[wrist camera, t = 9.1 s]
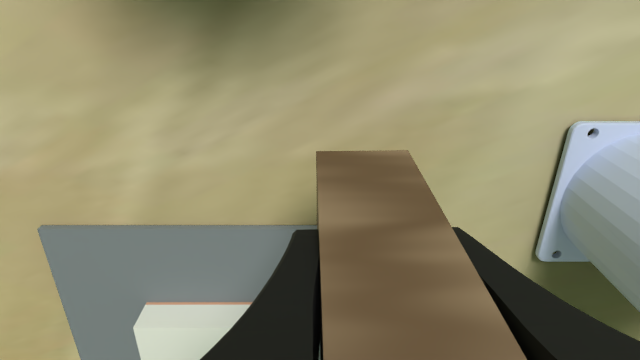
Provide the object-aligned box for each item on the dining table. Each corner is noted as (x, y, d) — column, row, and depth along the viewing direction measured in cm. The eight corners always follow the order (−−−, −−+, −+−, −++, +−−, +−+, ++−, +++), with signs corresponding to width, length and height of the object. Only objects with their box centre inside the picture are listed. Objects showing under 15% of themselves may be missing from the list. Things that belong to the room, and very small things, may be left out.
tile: (281, 327, 23) (133, 328, 23) (284, 402, 25) (151, 402, 25) (283, 302, 25) (146, 302, 24) (286, 374, 27) (162, 374, 27)
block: (407, 150, 14) (548, 397, 6) (400, 228, 15) (506, 520, 7) (316, 151, 14) (324, 401, 6) (316, 229, 15) (324, 524, 7)
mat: (448, 225, 23) (450, 229, 23) (417, 418, 30) (418, 423, 29) (41, 225, 23) (37, 229, 22) (105, 419, 30) (102, 425, 29)
